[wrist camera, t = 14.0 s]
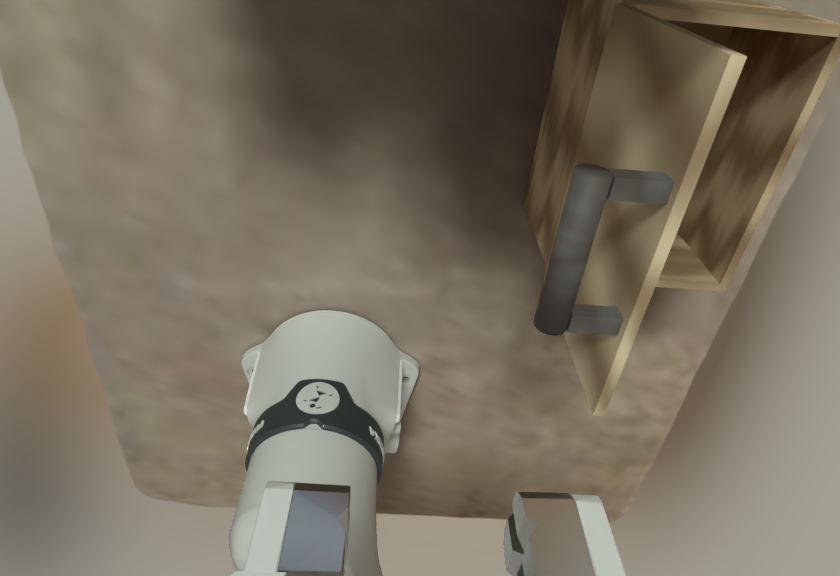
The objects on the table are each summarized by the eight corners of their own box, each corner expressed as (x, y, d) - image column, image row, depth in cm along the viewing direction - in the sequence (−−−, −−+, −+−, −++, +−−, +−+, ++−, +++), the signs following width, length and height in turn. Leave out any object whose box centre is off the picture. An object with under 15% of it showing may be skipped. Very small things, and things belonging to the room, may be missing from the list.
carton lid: (604, 415, 30) (517, 411, 29) (551, 280, 40) (487, 276, 40) (747, 56, 19) (617, 43, 19) (626, 3, 30) (541, -6, 30)
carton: (663, 216, 51) (724, 291, 41) (523, 206, 50) (551, 279, 40) (745, -3, 41) (853, 26, 31) (572, -21, 40) (626, 3, 30)
